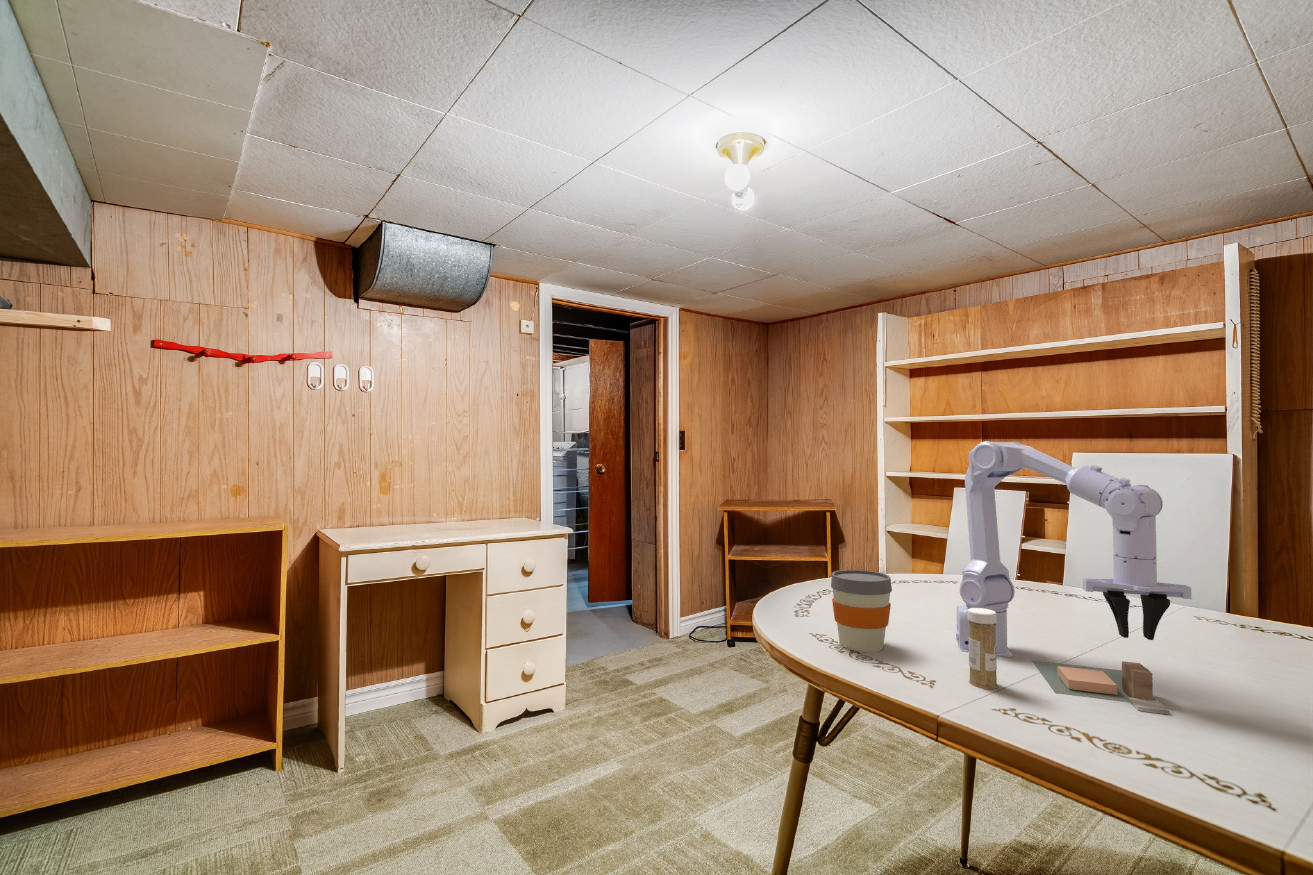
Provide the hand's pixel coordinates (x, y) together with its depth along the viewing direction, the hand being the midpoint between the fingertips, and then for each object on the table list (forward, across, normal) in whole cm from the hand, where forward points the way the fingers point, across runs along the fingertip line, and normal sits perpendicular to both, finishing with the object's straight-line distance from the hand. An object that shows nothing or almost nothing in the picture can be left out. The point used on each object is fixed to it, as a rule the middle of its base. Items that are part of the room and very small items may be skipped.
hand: (1136, 637), depth 100 cm
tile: (+9, -6, +6) cm, 13 cm away
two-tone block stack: (+10, 0, -2) cm, 10 cm away
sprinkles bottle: (+11, -24, -3) cm, 26 cm away
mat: (+10, -5, +6) cm, 13 cm away
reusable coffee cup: (+11, -44, +13) cm, 48 cm away
